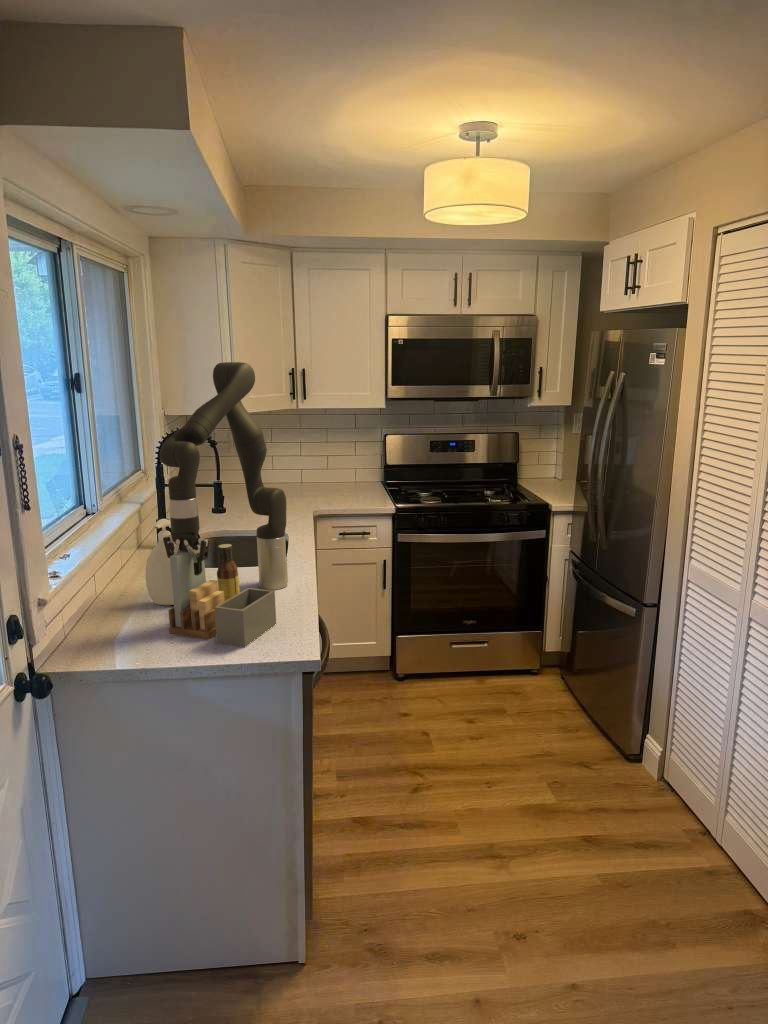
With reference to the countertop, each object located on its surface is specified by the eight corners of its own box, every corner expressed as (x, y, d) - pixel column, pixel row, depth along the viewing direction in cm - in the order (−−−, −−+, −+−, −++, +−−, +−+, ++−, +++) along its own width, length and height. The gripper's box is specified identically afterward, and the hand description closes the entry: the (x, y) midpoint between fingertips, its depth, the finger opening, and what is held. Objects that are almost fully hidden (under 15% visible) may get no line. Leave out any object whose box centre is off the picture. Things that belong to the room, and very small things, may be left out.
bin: (249, 620, 191) (247, 587, 188) (276, 624, 188) (274, 590, 186) (216, 643, 175) (214, 607, 173) (245, 647, 172) (242, 610, 170)
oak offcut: (212, 612, 192) (210, 579, 190) (219, 613, 191) (217, 580, 189) (191, 625, 182) (189, 590, 180) (198, 626, 182) (195, 591, 180)
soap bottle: (140, 608, 202) (132, 521, 196) (153, 599, 210) (146, 516, 204) (185, 610, 200) (178, 523, 194) (196, 601, 208) (190, 517, 202)
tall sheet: (201, 611, 193) (196, 545, 189) (208, 612, 192) (203, 545, 188) (175, 626, 182) (169, 556, 178) (182, 627, 181) (176, 556, 177)
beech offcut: (219, 617, 188) (217, 590, 186) (225, 618, 187) (223, 591, 186) (200, 628, 180) (198, 601, 178) (207, 629, 179) (205, 601, 177)
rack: (199, 616, 195) (198, 593, 193) (237, 621, 190) (236, 598, 189) (169, 633, 182) (167, 609, 180) (209, 639, 178) (207, 615, 176)
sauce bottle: (232, 603, 205) (228, 541, 201) (245, 607, 201) (241, 544, 197) (214, 609, 200) (210, 545, 196) (227, 613, 197) (223, 549, 192)
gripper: (214, 513, 182) (218, 572, 185) (171, 510, 186) (175, 567, 190) (198, 518, 175) (202, 580, 178) (153, 515, 180) (158, 575, 183)
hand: (188, 573), depth 184 cm, fingers open, 5 cm apart
